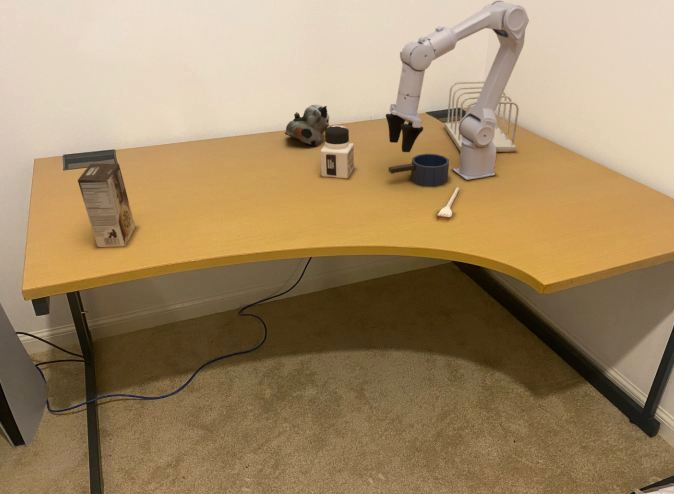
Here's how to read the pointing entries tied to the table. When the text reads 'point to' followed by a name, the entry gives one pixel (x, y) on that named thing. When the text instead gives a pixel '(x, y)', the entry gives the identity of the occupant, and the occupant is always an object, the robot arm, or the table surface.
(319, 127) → the lucky cat figurine
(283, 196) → the table surface
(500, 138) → the file sorter
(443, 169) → the pot
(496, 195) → the table surface
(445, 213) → the fork
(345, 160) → the container
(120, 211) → the coffee box
